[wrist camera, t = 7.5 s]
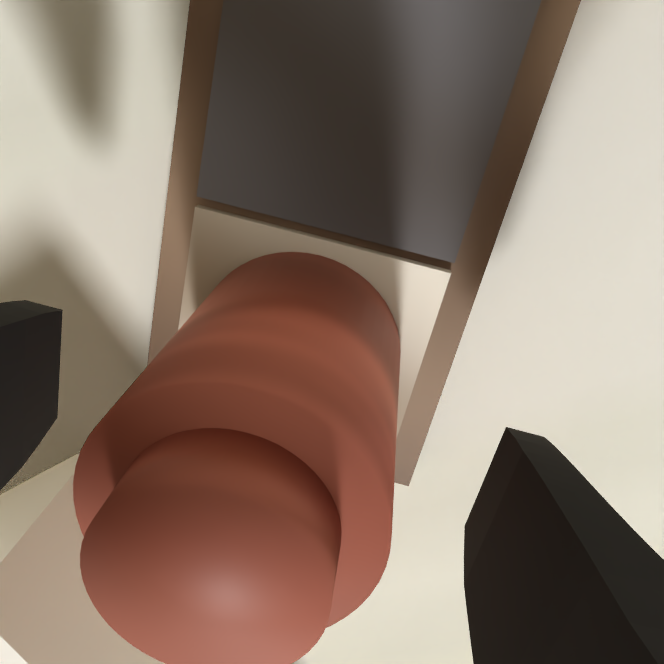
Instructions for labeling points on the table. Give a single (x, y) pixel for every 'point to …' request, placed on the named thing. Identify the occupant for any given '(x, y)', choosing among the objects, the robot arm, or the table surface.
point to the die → (50, 580)
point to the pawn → (248, 470)
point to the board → (357, 157)
